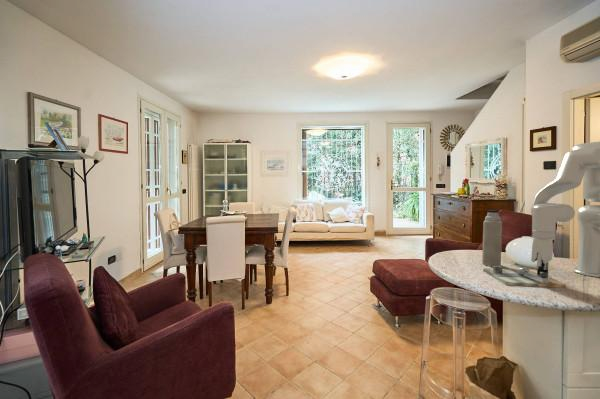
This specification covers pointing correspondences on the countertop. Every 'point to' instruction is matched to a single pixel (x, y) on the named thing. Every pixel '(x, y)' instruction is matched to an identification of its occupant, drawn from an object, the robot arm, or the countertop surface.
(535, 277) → the arm
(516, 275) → the lock board
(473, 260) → the countertop surface
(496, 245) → the thermos bottle
